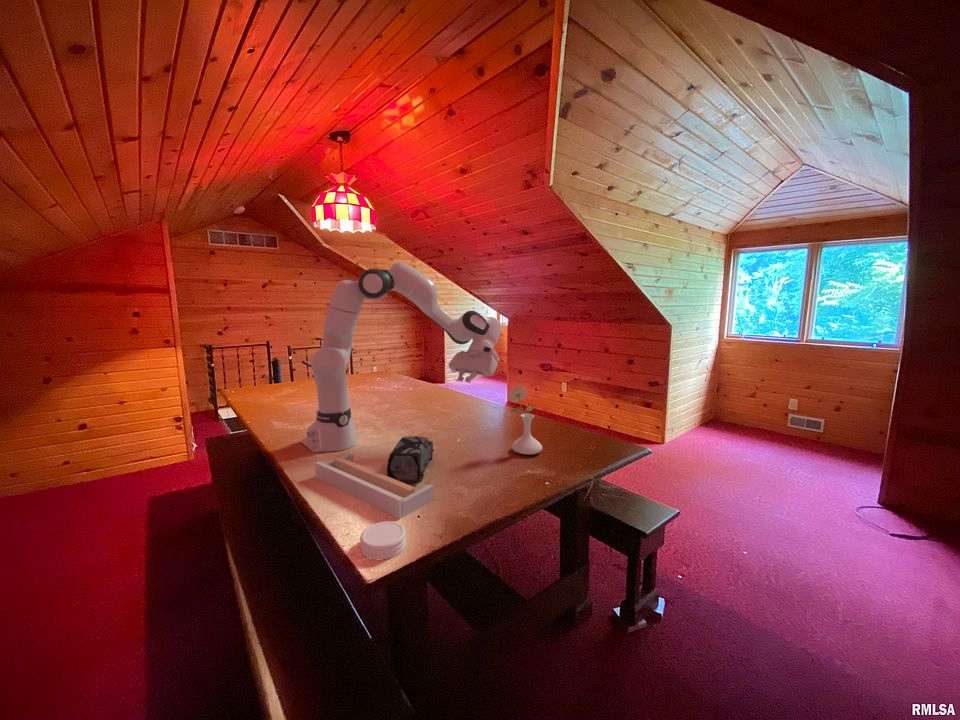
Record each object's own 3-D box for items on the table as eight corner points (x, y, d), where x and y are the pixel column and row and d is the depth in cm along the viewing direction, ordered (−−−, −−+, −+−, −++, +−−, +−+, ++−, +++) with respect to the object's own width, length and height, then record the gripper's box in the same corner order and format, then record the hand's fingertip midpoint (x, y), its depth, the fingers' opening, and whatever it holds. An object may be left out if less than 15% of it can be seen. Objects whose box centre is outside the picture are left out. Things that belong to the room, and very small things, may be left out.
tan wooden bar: (335, 473, 124) (334, 459, 124) (340, 471, 126) (339, 457, 125) (409, 507, 104) (409, 490, 103) (415, 504, 105) (414, 487, 104)
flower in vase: (539, 445, 149) (540, 382, 145) (545, 457, 137) (546, 388, 134) (505, 446, 148) (506, 382, 145) (508, 457, 137) (509, 389, 133)
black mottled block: (434, 455, 139) (434, 429, 138) (420, 488, 115) (419, 456, 114) (405, 455, 140) (404, 428, 139) (385, 487, 116) (384, 455, 114)
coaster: (351, 548, 87) (351, 534, 86) (388, 529, 94) (388, 515, 94) (377, 568, 80) (376, 552, 80) (415, 545, 88) (414, 531, 87)
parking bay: (316, 477, 121) (315, 462, 121) (350, 464, 131) (350, 450, 130) (400, 518, 98) (399, 500, 97) (434, 499, 108) (433, 482, 107)
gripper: (455, 346, 156) (439, 373, 149) (496, 349, 144) (481, 379, 137) (462, 355, 160) (446, 382, 154) (503, 359, 148) (488, 389, 141)
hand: (463, 381), depth 145 cm, fingers open, 2 cm apart
